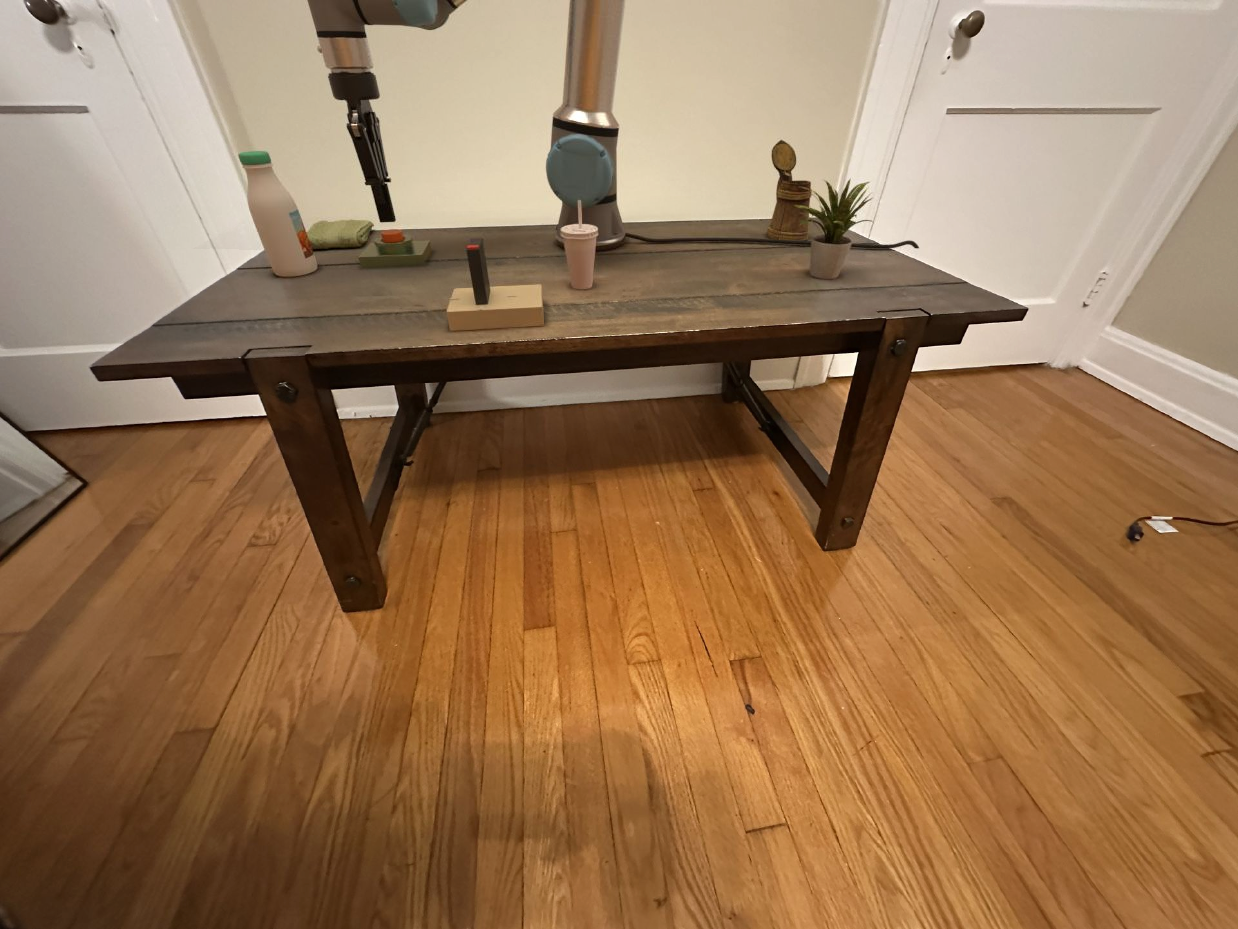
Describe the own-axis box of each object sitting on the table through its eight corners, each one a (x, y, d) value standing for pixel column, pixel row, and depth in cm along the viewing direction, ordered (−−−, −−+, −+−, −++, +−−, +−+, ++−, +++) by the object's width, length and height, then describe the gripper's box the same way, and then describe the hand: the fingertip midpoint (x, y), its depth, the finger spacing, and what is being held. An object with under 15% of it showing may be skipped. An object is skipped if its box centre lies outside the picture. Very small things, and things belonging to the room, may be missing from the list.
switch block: (432, 251, 113) (428, 231, 110) (424, 265, 105) (419, 244, 102) (373, 253, 111) (368, 233, 109) (361, 268, 104) (355, 247, 101)
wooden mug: (783, 225, 128) (798, 138, 117) (816, 240, 118) (835, 146, 107) (750, 228, 126) (762, 140, 115) (780, 243, 116) (796, 148, 105)
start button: (405, 237, 108) (403, 228, 107) (402, 243, 105) (399, 234, 103) (385, 238, 107) (383, 229, 106) (381, 244, 104) (378, 234, 103)
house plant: (810, 256, 108) (829, 165, 98) (877, 271, 100) (904, 174, 90) (772, 272, 100) (788, 175, 90) (840, 290, 92) (866, 186, 82)
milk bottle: (301, 279, 99) (255, 155, 87) (265, 276, 100) (215, 154, 88) (327, 266, 105) (288, 149, 93) (292, 264, 106) (249, 148, 94)
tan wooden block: (543, 301, 89) (541, 283, 87) (544, 326, 81) (542, 305, 79) (457, 306, 88) (453, 287, 86) (449, 331, 80) (445, 310, 78)
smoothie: (572, 294, 92) (567, 206, 83) (558, 283, 96) (552, 198, 88) (605, 288, 94) (604, 201, 85) (590, 277, 98) (587, 194, 90)
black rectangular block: (479, 291, 84) (469, 236, 79) (490, 290, 85) (482, 236, 80) (475, 304, 80) (465, 247, 75) (487, 304, 80) (478, 247, 75)
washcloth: (376, 228, 128) (372, 214, 126) (364, 249, 114) (359, 233, 112) (318, 231, 126) (313, 217, 124) (299, 253, 112) (293, 237, 110)
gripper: (338, 70, 94) (375, 214, 108) (314, 72, 84) (359, 230, 98) (382, 70, 95) (413, 213, 109) (364, 71, 85) (401, 229, 99)
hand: (388, 221), depth 104 cm, fingers closed
